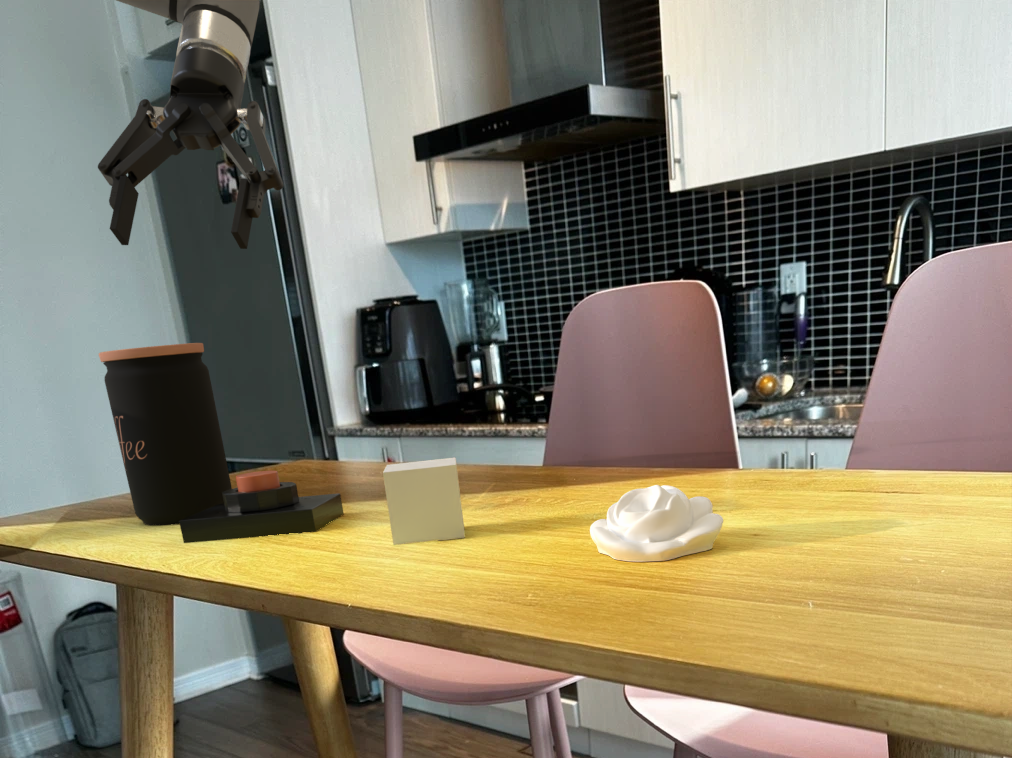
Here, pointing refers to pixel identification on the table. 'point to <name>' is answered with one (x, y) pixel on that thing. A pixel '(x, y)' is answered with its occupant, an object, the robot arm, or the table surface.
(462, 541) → the table surface
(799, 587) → the table surface
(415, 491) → the beige cube
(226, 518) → the control block
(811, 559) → the table surface
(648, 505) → the rose
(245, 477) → the button
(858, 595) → the table surface
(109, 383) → the coffee jar
